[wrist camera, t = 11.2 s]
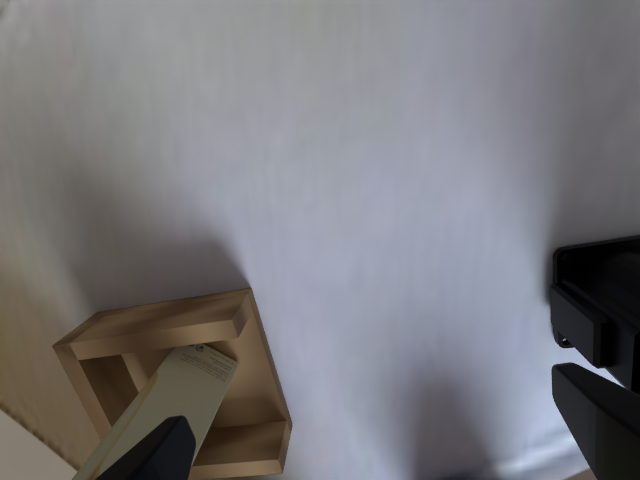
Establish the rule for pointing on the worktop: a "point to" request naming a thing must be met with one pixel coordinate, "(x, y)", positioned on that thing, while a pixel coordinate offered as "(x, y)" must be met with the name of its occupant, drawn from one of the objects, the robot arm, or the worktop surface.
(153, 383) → the skincare box
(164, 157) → the worktop surface
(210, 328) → the u rest
